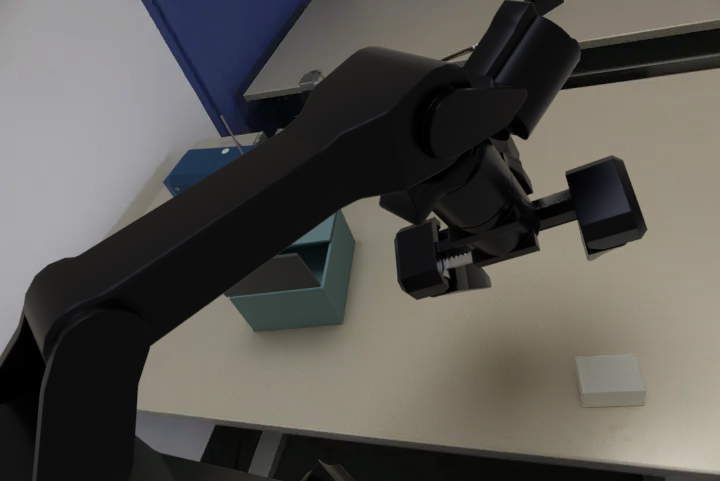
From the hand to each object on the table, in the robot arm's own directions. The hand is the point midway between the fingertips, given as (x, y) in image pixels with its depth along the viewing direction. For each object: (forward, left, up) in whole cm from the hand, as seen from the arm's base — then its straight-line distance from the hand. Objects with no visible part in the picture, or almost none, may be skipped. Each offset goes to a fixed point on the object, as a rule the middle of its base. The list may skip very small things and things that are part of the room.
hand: (537, 269), depth 48 cm
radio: (+31, +44, -14) cm, 55 cm away
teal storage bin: (+14, +31, -14) cm, 36 cm away
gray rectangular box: (-4, -5, -14) cm, 16 cm away
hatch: (+6, +31, -2) cm, 31 cm away
